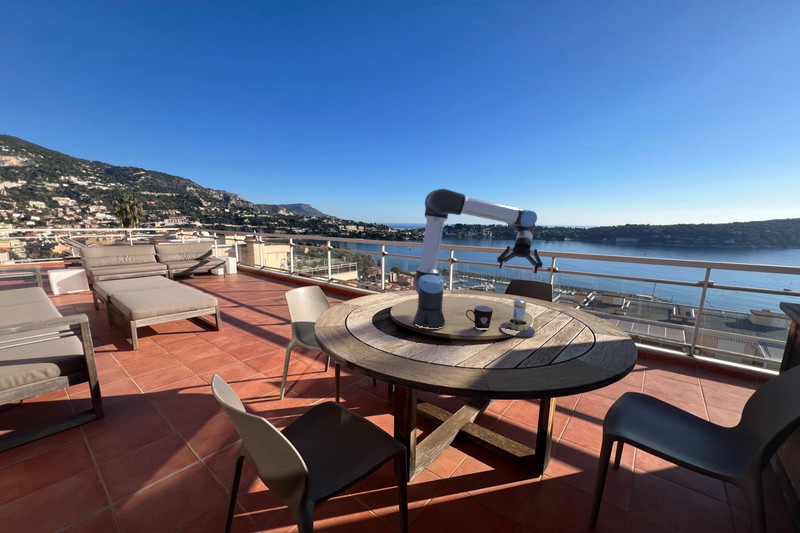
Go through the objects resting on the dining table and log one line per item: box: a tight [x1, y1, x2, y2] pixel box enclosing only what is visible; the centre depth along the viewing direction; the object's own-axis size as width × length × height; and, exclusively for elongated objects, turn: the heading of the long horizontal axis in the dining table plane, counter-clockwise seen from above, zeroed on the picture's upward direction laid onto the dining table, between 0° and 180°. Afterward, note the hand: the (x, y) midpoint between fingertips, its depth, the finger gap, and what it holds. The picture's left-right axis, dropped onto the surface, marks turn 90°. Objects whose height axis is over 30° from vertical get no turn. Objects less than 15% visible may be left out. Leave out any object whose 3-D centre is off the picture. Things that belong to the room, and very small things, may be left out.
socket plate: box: [499, 317, 536, 339], centre depth 136 cm, size 15×15×4 cm
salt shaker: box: [512, 299, 527, 325], centre depth 135 cm, size 5×5×13 cm
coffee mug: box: [465, 305, 494, 329], centre depth 138 cm, size 12×9×10 cm
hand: (516, 275), depth 136 cm, fingers open, 13 cm apart
